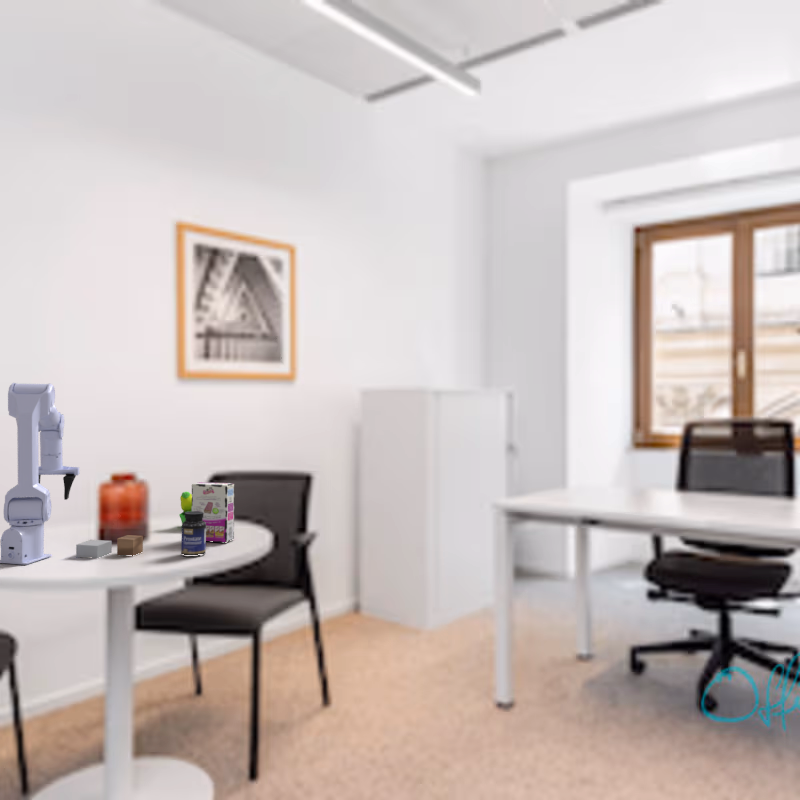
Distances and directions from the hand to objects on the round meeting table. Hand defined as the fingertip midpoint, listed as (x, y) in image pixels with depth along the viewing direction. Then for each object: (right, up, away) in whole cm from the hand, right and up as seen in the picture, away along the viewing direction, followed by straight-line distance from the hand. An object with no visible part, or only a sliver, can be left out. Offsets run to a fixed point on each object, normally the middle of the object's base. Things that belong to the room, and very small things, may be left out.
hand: (52, 498), depth 205 cm
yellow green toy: (+37, -11, +14) cm, 41 cm away
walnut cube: (+31, -11, -22) cm, 40 cm away
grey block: (+23, -11, -24) cm, 35 cm away
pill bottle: (+47, -12, -22) cm, 54 cm away
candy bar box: (+48, -12, -5) cm, 50 cm away
